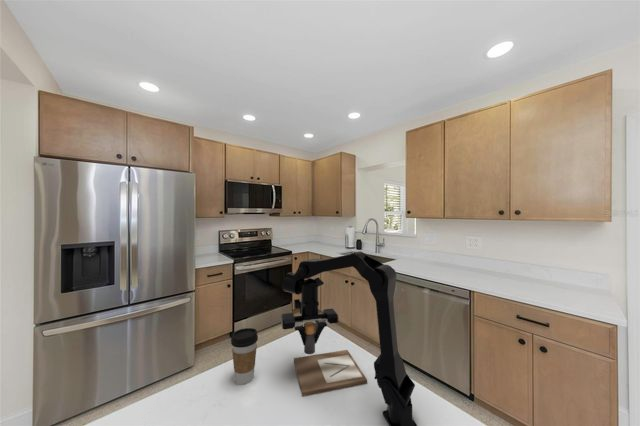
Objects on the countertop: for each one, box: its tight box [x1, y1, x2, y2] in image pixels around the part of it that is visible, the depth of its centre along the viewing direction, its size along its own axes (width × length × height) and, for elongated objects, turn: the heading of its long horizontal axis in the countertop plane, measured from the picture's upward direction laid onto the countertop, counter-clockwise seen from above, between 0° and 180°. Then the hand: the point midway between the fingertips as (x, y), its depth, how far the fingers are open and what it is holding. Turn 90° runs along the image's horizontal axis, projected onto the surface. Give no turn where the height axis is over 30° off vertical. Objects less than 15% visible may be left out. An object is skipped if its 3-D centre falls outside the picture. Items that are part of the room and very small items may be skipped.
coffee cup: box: [230, 327, 259, 385], centre depth 76 cm, size 8×8×15 cm
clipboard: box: [293, 349, 368, 397], centre depth 79 cm, size 17×21×2 cm
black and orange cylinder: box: [303, 321, 316, 355], centre depth 78 cm, size 4×4×9 cm
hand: (309, 343), depth 78 cm, fingers closed on black and orange cylinder, 4 cm apart
